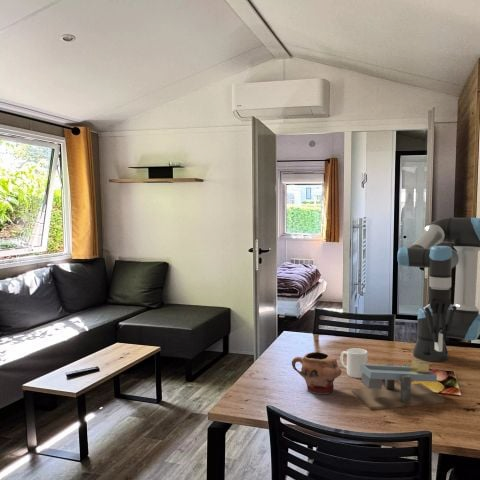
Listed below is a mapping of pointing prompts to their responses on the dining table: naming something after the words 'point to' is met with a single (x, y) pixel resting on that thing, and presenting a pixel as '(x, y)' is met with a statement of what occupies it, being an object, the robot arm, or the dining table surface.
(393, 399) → the low stand
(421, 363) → the block
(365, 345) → the dining table surface
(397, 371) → the grey long tray
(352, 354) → the cup
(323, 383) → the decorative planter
